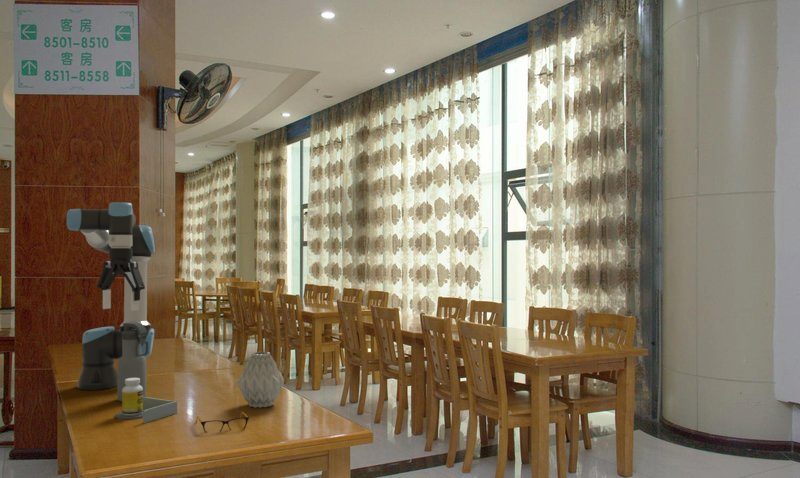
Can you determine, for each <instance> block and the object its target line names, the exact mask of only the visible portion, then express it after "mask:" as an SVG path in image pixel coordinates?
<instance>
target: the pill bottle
mask: <svg viewBox="0 0 800 478" xmlns="http://www.w3.org/2000/svg"><path fill="white" fill-rule="evenodd" d="M139 383H140V378H128V379H125V384H126V386H125V387H124V388H123V389H122V402H121V412H122V414H123V415H126V416H134V415H139V414H141V413H142V412H143V410H144V409H143V388H142V386H140V385H139Z"/></svg>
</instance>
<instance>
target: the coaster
mask: <svg viewBox="0 0 800 478" xmlns="http://www.w3.org/2000/svg"><path fill="white" fill-rule="evenodd" d="M114 418H115V419H118V420H137V419H143V412H142V413H141V414H139V415H134V416H126V415H123V414H122V411H120V412H117V413H116V414H115V415H114Z"/></svg>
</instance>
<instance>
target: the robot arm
mask: <svg viewBox="0 0 800 478" xmlns="http://www.w3.org/2000/svg"><path fill="white" fill-rule="evenodd" d="M136 222H137V218H136V215H135V214H134V210H133V204H132V203H131V202H121V201H117V202H116V201H115V202H113V201H112V202H110V203H109V205H108V208H105V209H104V208H103V209H98V208H95V209H94V208H93V209H92V208H91V209H90V208H72V209H68V210H67V213H66V227H67V229H68V230H70V231H76V232H78V231H80V232H81V234H83V235H84V236H85V240H86V242H87V243H88V244H87V245H89V246H90V247H91V248H94V249H95V250H98V251H100V252H103V253H106V254H107V253H108V259H110V261H109V260H108V261H107V260H105V261H103V268H102V271H101V274H100V276H99V278H98V282H97V285H96V287H97V289H98V288H100V290H101V299H102V310H107V309H111V308H112V303H111V301H112V300H111V299H112V294H111V293H112V291H111V290H112V289H110V288H111V286H112V284H113V283H114V281H115V279H116V277H117V276H119V275H120V276H123V277H124V294H123V295H124V299H123V300H124V305H123V306H124V307H123V310H124V311H123V312H124V313H123V322H122V323H121V324H120V325H119V329H115V326H104V327H103V326H102V327H101V326H100V327H96V328H93V329H88V330H86V331H84V332H83V334H82V340H81V341H82V342H81V345H82V347H81V348H82V368H81V371H80V374H79V378H78V381H77V389H78V390H83V391H97V390H98V391H99V390H107V389H111V388H115V387H118V371H117V370H116V367H115V360H119V358H121V357H122V332H123V331H124V326H123V323H127V322H133V323H141V324H143V325H144V326H145V328H146V331H147V336H145V341H147V342H148V354H147V355H144V356H143V357H145V359H147V358H148V357H150V356H151V354H152V350H153V346H154V339H155V329H154V328H152V325H151V323H150V322H149V321H148V320H147V319H148V318H147V317H148V316H147V315H148V307H147V306H148V295H147V294H148V262H149V261H150V260H151V259H152V255H154V254H155V253H156V249H155V248H156V247H155V239H154V234H153V228H151V226H149V225H141V224H136ZM133 329H135V328H133ZM142 338H143V337H142ZM145 352H146V344H145V343H142V344H141V354H145Z"/></svg>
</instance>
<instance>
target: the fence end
mask: <svg viewBox="0 0 800 478" xmlns="http://www.w3.org/2000/svg"><path fill="white" fill-rule="evenodd" d="M176 414H178V401H177V400H176V401H175V400H174V401H173V402H170V403H167V404H163V405H160V406H157V407H153V408H150V409H143V418H142V423H143V424H147V423H150V422H154V421H156V420H159V419H163V418H166V417H169V416H173V415H176Z"/></svg>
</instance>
